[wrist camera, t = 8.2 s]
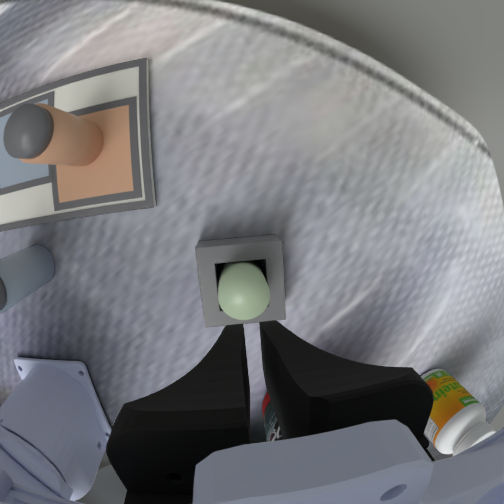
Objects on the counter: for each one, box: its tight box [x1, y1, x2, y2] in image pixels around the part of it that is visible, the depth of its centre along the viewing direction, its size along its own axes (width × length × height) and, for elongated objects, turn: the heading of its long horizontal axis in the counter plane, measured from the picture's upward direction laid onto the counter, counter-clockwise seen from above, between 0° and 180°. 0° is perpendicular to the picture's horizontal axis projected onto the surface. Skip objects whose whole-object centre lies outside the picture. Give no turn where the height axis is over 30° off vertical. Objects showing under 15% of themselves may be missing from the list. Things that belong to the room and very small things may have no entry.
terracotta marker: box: [3, 103, 103, 167], centre depth 14 cm, size 3×3×7 cm
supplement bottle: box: [421, 369, 496, 456], centre depth 20 cm, size 5×5×10 cm
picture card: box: [0, 58, 156, 232], centre depth 17 cm, size 10×14×1 cm
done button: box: [218, 260, 270, 320], centre depth 18 cm, size 3×3×3 cm
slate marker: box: [0, 245, 55, 313], centre depth 16 cm, size 3×3×7 cm
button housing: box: [195, 234, 286, 327], centre depth 20 cm, size 5×5×2 cm
